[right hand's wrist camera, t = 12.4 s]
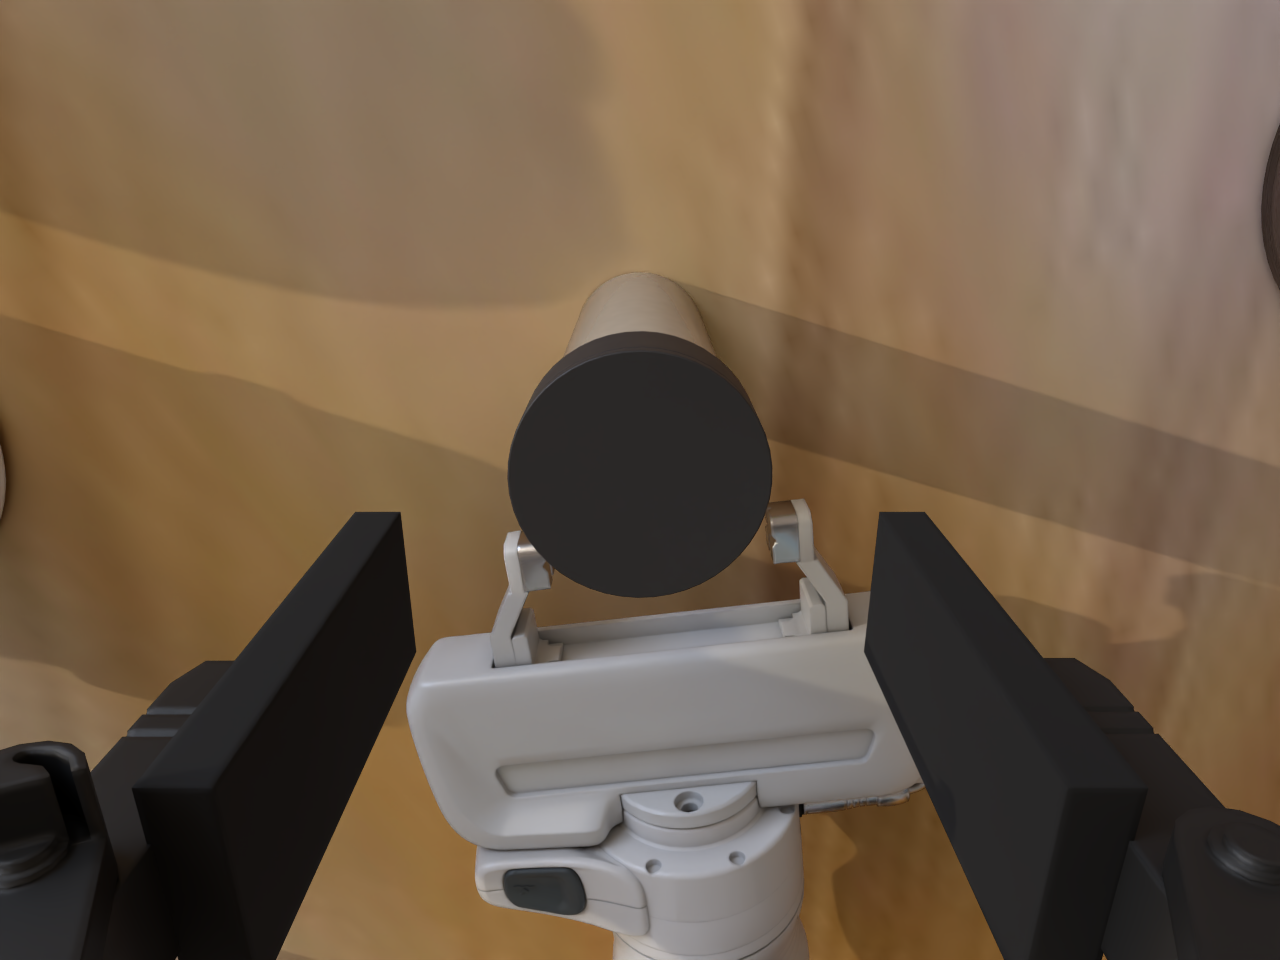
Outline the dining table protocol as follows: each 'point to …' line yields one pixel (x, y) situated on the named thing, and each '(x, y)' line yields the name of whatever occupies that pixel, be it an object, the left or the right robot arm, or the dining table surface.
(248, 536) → the dining table surface
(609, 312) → the jar
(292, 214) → the dining table surface
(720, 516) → the lid
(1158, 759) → the right robot arm
